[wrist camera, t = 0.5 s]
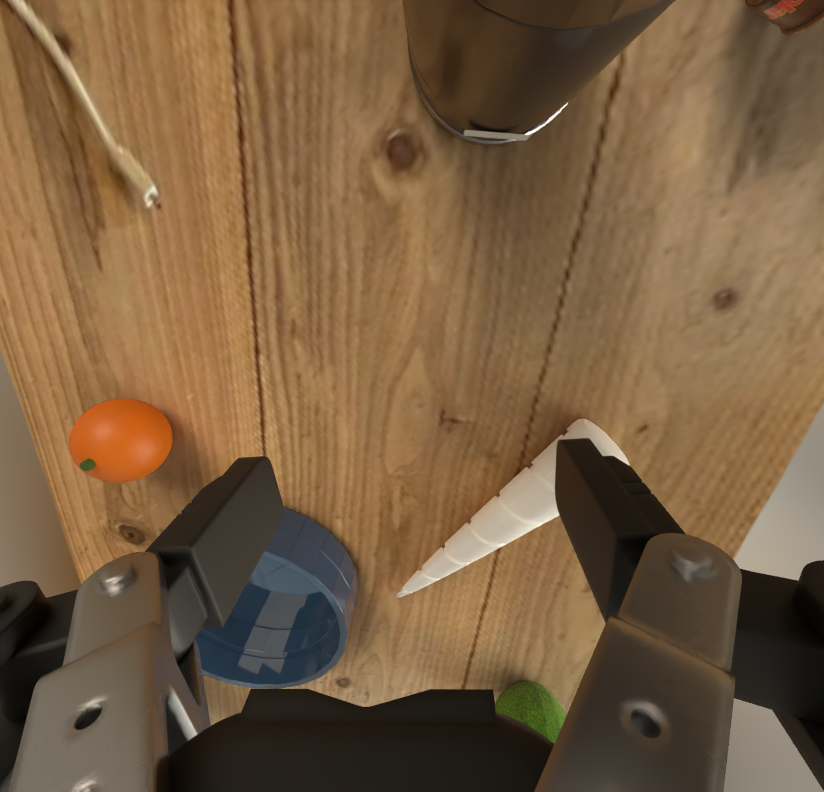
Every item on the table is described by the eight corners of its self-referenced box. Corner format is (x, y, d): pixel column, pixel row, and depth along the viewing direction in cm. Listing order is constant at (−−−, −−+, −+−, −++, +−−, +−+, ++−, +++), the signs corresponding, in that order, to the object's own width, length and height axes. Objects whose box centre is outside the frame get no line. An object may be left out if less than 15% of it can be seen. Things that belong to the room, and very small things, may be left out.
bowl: (152, 497, 34) (103, 544, 29) (345, 492, 33) (328, 541, 28) (208, 630, 41) (176, 687, 36) (370, 631, 39) (360, 690, 34)
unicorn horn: (366, 570, 36) (357, 618, 32) (577, 403, 28) (603, 436, 24) (404, 597, 37) (400, 647, 33) (617, 443, 29) (649, 482, 25)
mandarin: (102, 388, 30) (20, 427, 24) (175, 384, 30) (109, 423, 24) (130, 454, 32) (62, 505, 27) (198, 452, 32) (144, 503, 26)
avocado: (571, 669, 40) (622, 838, 29) (547, 713, 43) (584, 880, 32) (495, 656, 40) (517, 820, 29) (476, 700, 43) (489, 863, 32)
